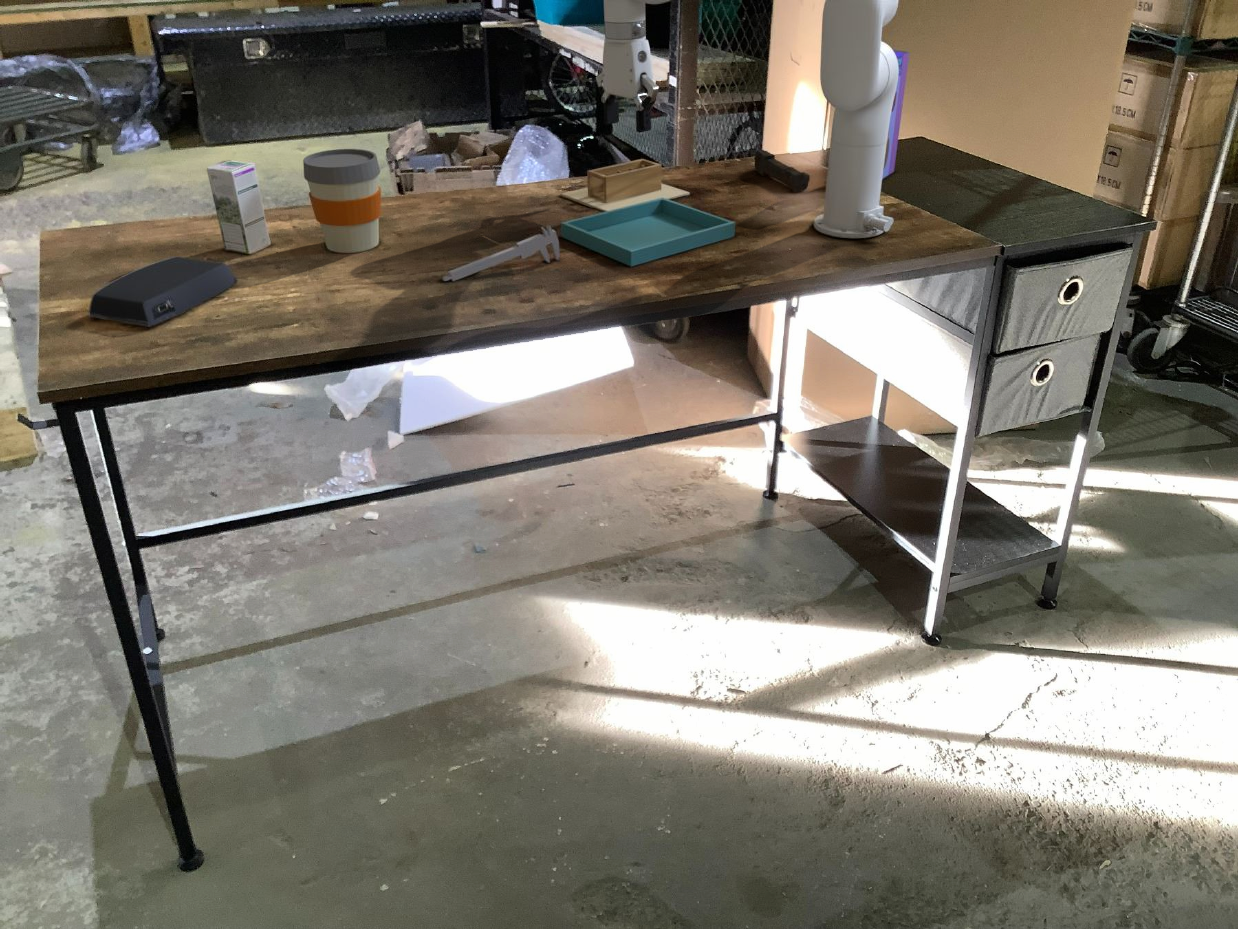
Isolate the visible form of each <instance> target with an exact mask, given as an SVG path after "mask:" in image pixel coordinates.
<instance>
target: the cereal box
mask: <svg viewBox="0 0 1238 929" xmlns="http://www.w3.org/2000/svg"><path fill="white" fill-rule="evenodd" d="M892 50H893V51H894V53H895V55H896V57H897V61H898V67H899V74H898V82H897V87H896V92H895V96H894V101H893V105H892V110H891V116H890V123H889V130H888V138H887V144H886V152H885V160H884V168H883V176H882V181H883V180H884V179H886V178H888V177H889V176H891V175H892V174H893V173H895V167H896V158H897V151H898V143H899V136H900V127H901V121H902V120H901V119H902V111H903V104H904V96H905V90H906V83H907V82H906V81H907V75H908V74H907V73H908V65H909V58H910V51H905V50H898V49H892Z"/></svg>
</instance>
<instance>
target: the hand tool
mask: <svg viewBox="0 0 1238 929" xmlns="http://www.w3.org/2000/svg"><path fill="white" fill-rule="evenodd" d="M753 160H754V169H755V170H756V172H758V173H759V174H760V175H761V176H762V177H771V178H772V179H775V180H777V181H778V182H780V183H782V184H783V185H785V186H787V187H788V188H790V190H791V191H792V193H794V194H795V193H801V192H803V191H807V190H806V189H808V187H809V182H810V175H809V174H808V173H807V172H805V171H799V170H798V169H797V168H795V167H794V166H793V167H792V166H789V165H787V164H785V163H783V162H781V161H780V160H778V159H776V157H775V154H773V153H771V152H770V151H768V150H764V149H759V150H757V151H756V152H755V155H754V159H753Z"/></svg>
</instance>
